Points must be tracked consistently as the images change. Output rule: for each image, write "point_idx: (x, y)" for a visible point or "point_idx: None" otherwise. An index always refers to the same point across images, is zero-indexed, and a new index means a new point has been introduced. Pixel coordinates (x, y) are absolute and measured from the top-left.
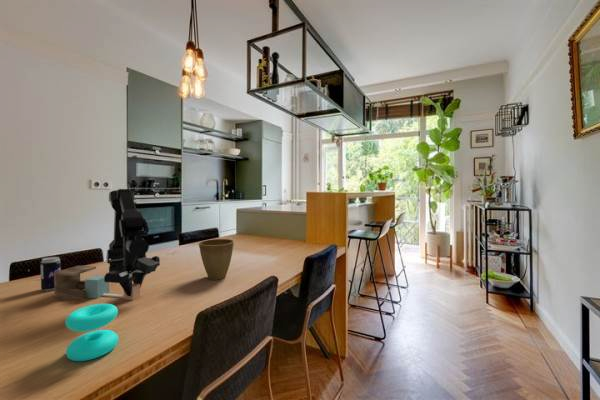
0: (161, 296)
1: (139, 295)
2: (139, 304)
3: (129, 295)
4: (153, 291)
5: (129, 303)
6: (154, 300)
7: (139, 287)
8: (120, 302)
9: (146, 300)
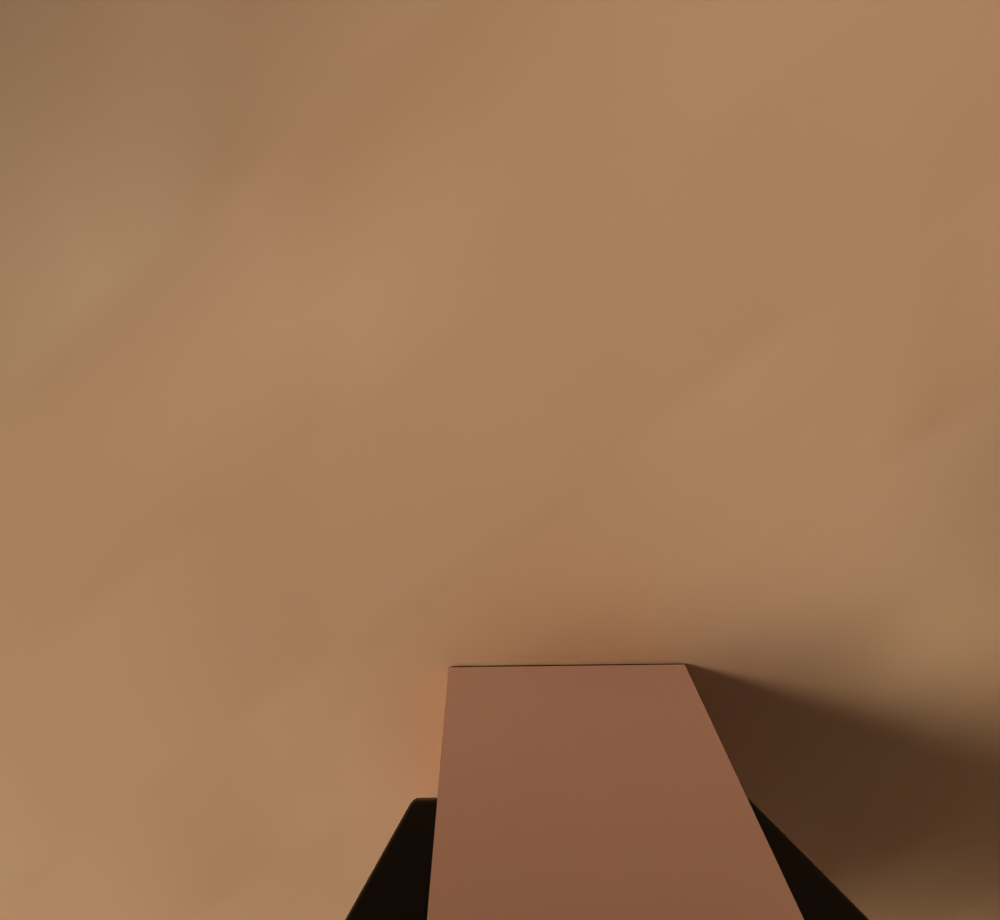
0: (316, 55)
1: (475, 686)
2: (962, 334)
3: None
4: (79, 578)
5: (877, 607)
6: (671, 69)
7: (468, 906)
8: (815, 793)
9: (686, 335)
